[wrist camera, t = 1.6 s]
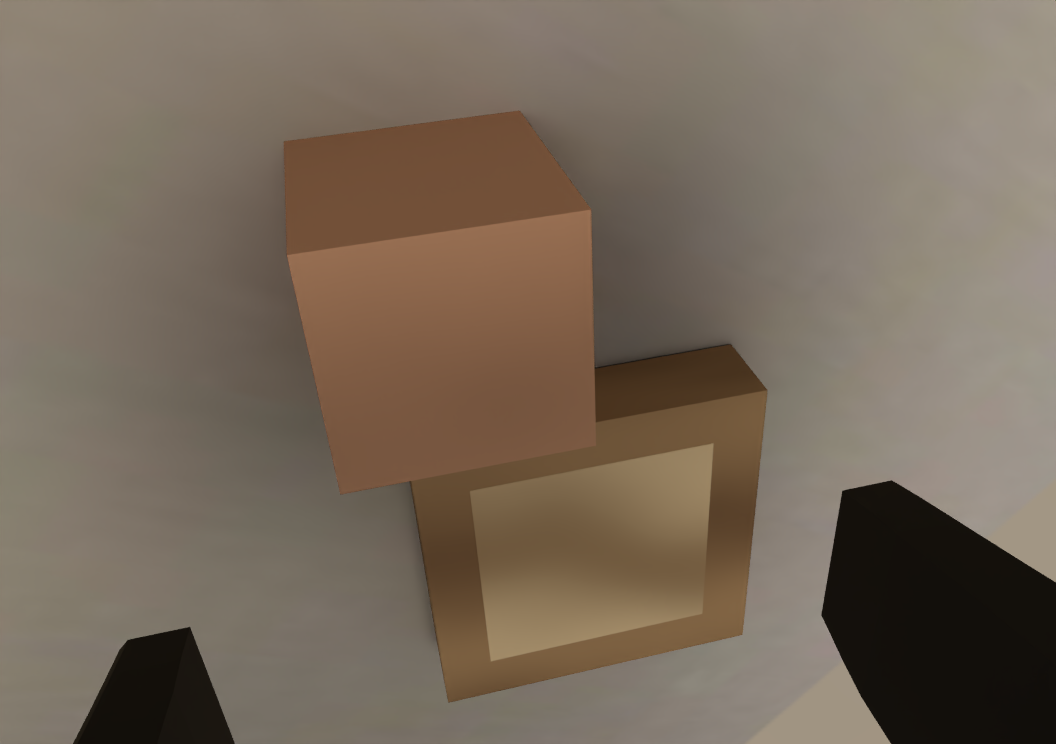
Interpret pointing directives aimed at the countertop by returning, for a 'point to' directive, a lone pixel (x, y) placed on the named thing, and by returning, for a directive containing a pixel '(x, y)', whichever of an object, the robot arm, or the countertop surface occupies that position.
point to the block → (442, 296)
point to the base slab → (601, 531)
